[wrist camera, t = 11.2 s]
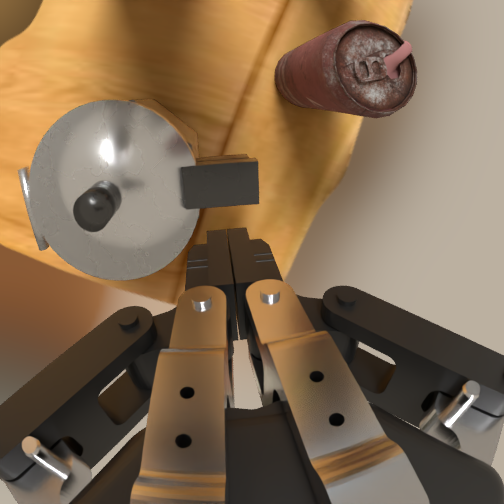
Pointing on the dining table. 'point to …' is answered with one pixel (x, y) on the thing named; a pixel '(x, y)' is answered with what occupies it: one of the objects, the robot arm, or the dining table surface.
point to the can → (350, 71)
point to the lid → (124, 189)
